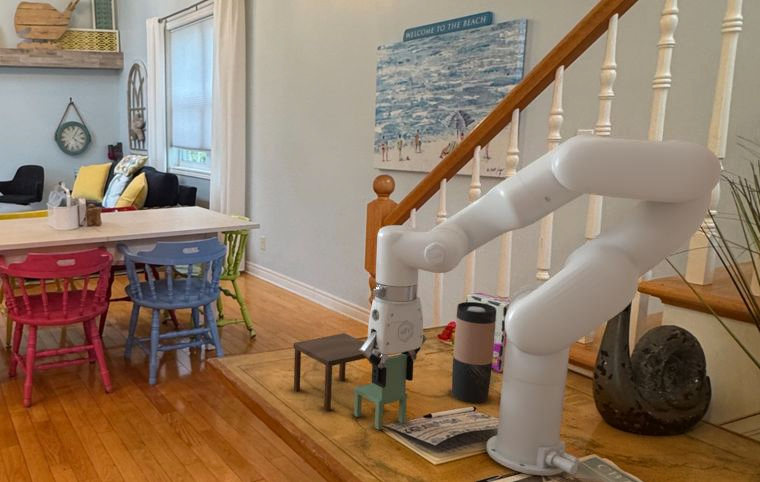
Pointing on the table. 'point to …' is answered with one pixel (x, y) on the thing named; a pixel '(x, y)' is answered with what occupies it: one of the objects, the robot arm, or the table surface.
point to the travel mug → (473, 351)
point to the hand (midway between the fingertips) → (392, 380)
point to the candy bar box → (500, 331)
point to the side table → (328, 358)
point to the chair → (386, 390)
